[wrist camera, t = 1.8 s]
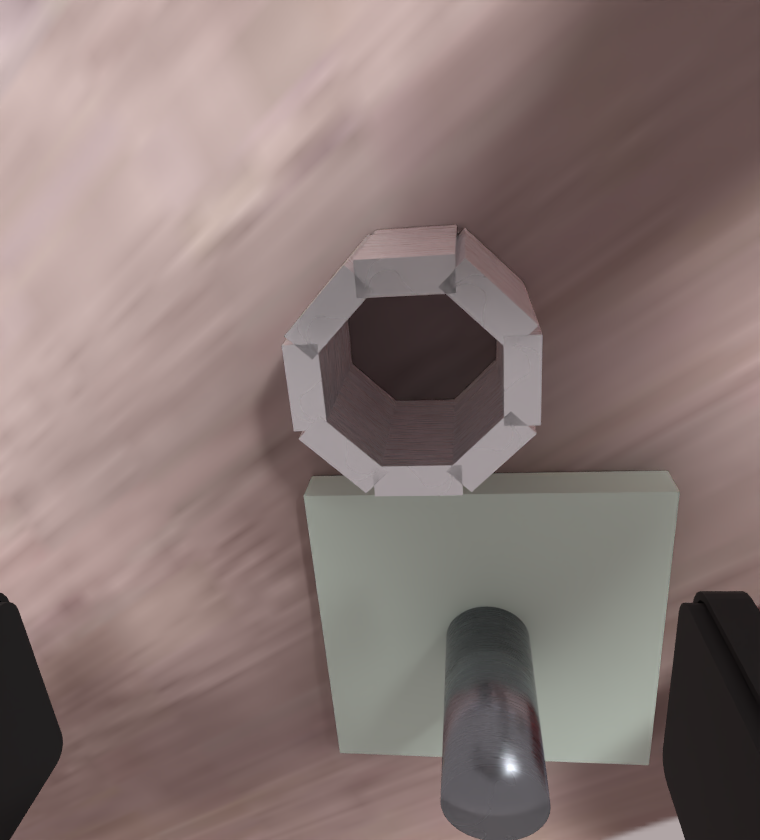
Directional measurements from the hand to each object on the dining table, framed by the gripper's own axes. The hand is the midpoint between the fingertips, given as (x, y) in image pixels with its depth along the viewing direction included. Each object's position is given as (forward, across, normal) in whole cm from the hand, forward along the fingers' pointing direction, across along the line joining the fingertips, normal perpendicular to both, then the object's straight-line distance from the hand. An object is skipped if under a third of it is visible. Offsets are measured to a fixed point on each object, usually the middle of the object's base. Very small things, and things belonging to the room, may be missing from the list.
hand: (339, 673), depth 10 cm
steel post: (+14, -2, +11) cm, 18 cm away
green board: (+15, -2, +11) cm, 19 cm away
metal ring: (+15, 0, -1) cm, 15 cm away
